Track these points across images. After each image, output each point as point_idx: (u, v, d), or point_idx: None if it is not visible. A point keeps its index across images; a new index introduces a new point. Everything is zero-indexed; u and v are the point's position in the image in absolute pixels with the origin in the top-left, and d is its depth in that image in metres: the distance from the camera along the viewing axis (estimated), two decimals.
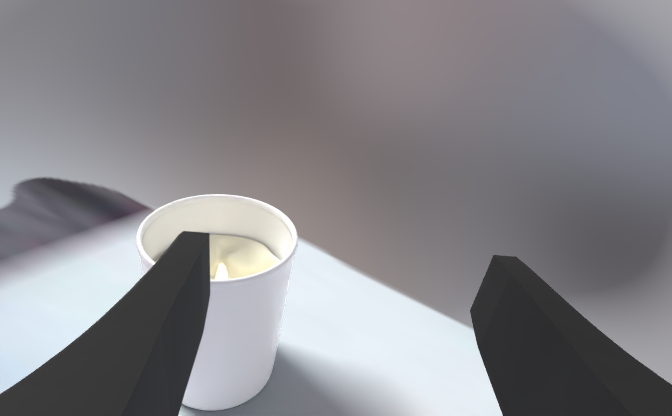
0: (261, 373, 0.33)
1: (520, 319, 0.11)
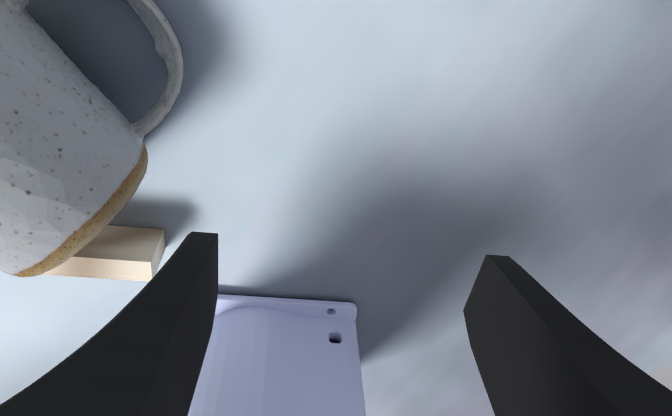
0: None
1: (512, 319, 0.11)
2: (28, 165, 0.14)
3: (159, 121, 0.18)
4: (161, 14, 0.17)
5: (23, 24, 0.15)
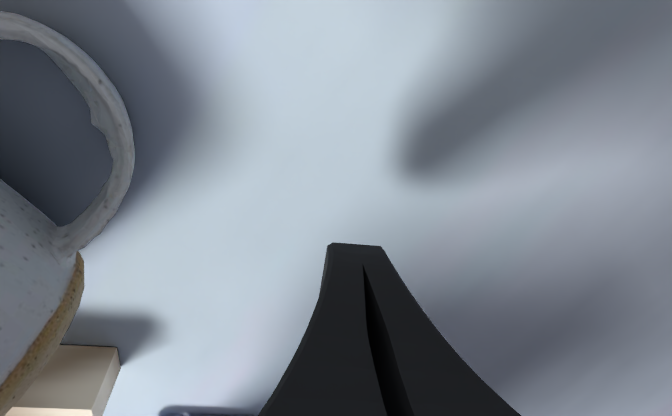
0: None
1: (365, 310, 0.10)
2: None
3: (98, 231, 0.12)
4: (94, 73, 0.11)
5: None
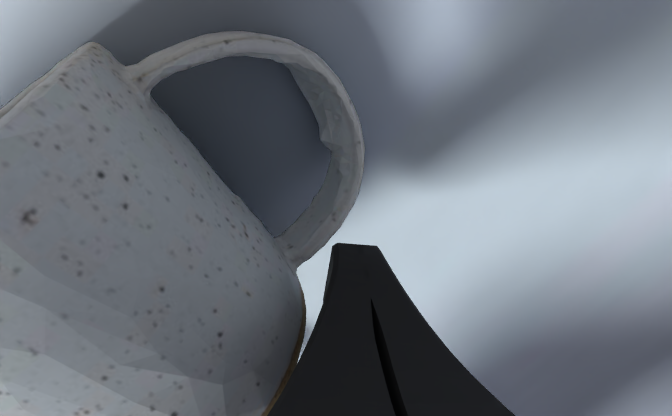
0: None
1: None
2: (177, 371, 0.08)
3: (324, 243, 0.12)
4: (346, 93, 0.11)
5: (157, 124, 0.09)
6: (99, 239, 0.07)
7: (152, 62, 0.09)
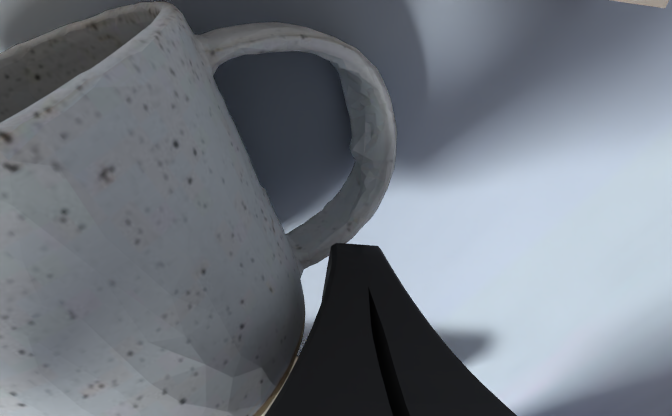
0: None
1: None
2: (198, 358, 0.08)
3: None
4: (392, 111, 0.11)
5: (219, 102, 0.09)
6: (162, 210, 0.07)
7: (226, 38, 0.09)
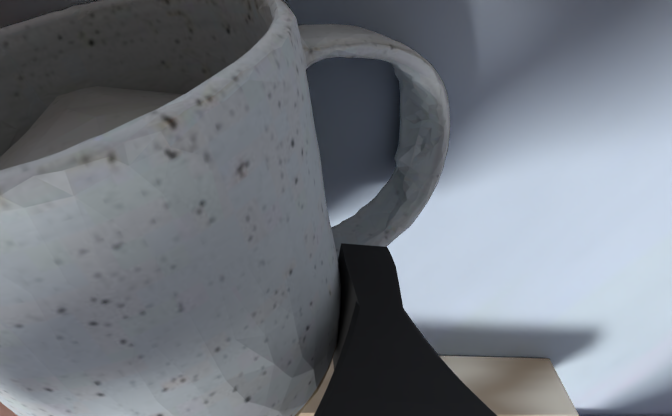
0: None
1: (348, 309, 0.10)
2: (269, 358, 0.08)
3: None
4: (448, 129, 0.12)
5: None
6: (274, 208, 0.07)
7: (322, 38, 0.09)
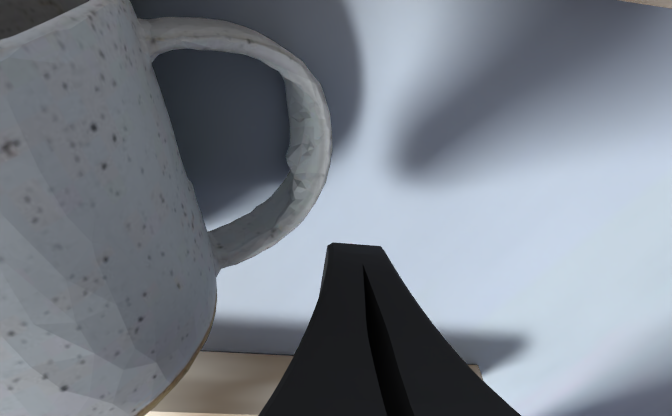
0: None
1: (365, 310, 0.10)
2: (86, 346, 0.08)
3: (254, 255, 0.12)
4: (330, 128, 0.12)
5: (152, 91, 0.09)
6: (68, 192, 0.07)
7: (170, 29, 0.09)
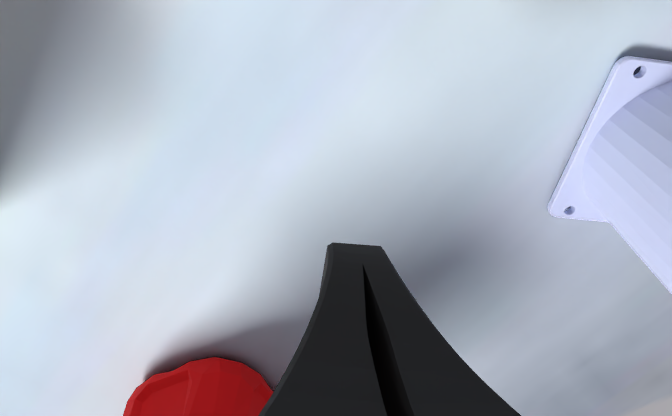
0: None
1: (365, 310, 0.10)
2: None
3: None
4: None
5: None
6: None
7: None
